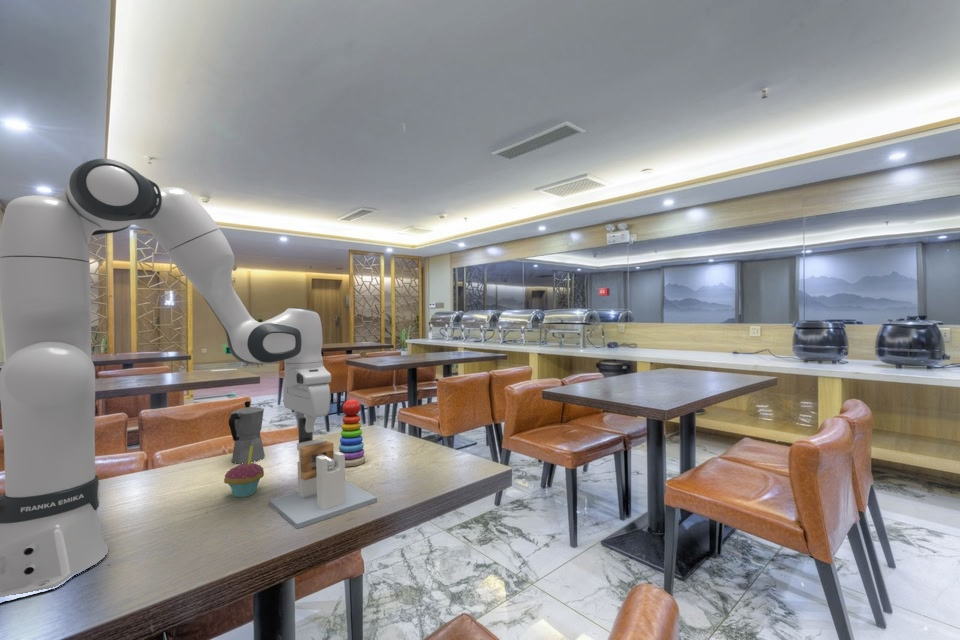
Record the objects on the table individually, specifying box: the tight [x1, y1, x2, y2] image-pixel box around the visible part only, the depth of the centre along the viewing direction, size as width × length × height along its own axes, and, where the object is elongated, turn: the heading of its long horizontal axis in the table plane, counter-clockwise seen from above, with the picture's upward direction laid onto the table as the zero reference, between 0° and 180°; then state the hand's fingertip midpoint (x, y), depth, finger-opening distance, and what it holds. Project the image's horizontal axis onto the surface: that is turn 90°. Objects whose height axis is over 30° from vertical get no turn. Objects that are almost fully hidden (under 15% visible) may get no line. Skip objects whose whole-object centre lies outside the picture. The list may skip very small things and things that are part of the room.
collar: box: [300, 441, 335, 480], centre depth 100 cm, size 7×2×7 cm, turn 133°
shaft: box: [297, 417, 337, 469], centre depth 101 cm, size 3×17×9 cm, turn 43°
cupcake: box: [223, 443, 265, 498], centre depth 105 cm, size 9×8×12 cm
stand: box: [268, 438, 378, 529], centre depth 98 cm, size 18×17×13 cm
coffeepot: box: [228, 400, 265, 463], centre depth 132 cm, size 15×9×18 cm, turn 178°
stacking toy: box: [338, 398, 366, 468], centre depth 127 cm, size 8×8×19 cm
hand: (305, 430), depth 105 cm, fingers closed on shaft, 3 cm apart
